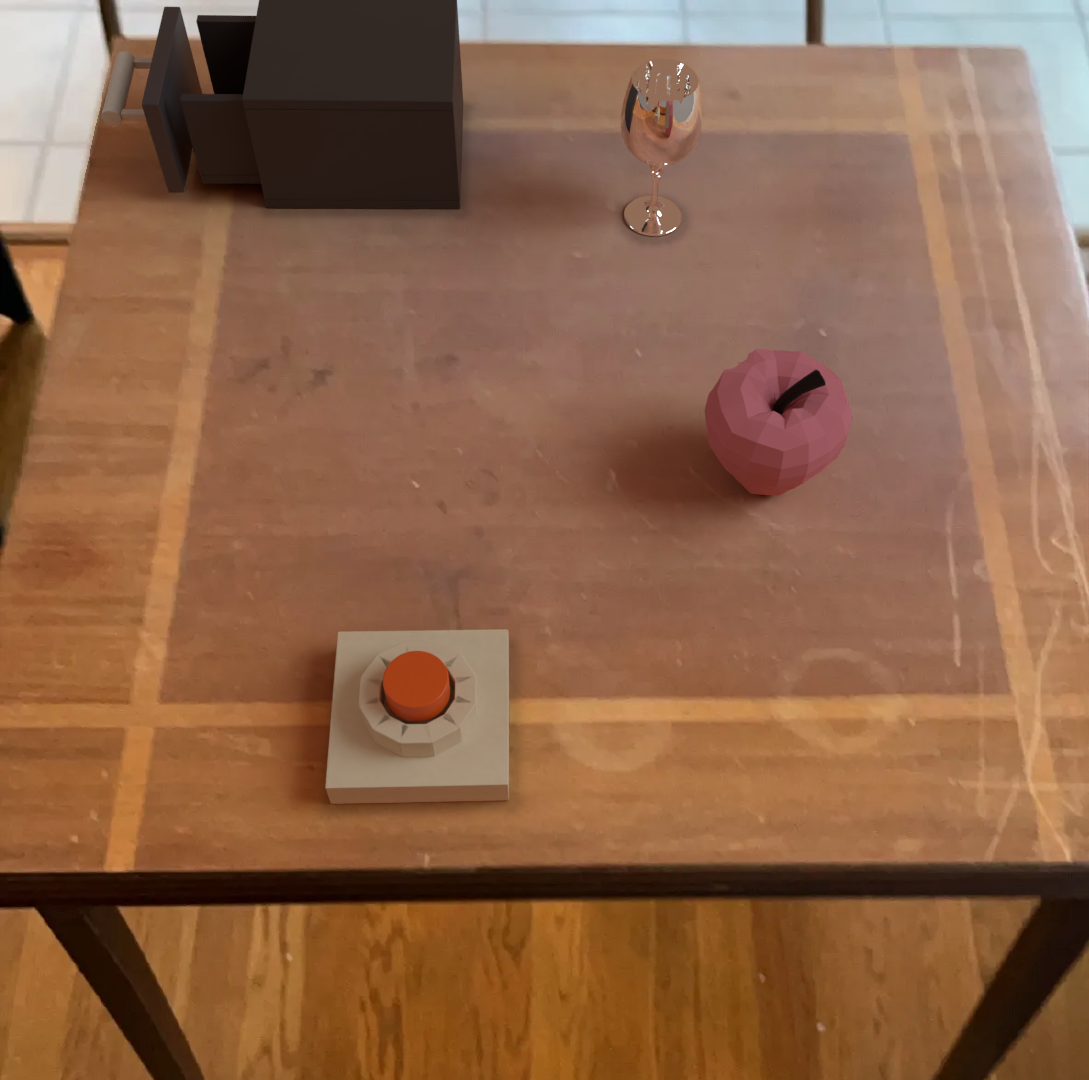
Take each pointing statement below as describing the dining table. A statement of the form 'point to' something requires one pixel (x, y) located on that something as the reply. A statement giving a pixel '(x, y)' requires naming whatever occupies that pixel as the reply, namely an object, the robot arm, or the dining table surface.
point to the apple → (777, 420)
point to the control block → (427, 746)
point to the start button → (416, 686)
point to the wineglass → (660, 134)
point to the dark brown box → (356, 103)
